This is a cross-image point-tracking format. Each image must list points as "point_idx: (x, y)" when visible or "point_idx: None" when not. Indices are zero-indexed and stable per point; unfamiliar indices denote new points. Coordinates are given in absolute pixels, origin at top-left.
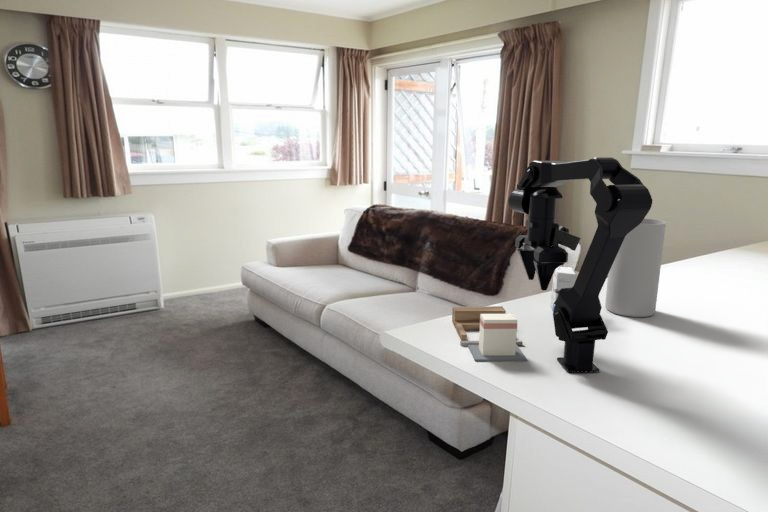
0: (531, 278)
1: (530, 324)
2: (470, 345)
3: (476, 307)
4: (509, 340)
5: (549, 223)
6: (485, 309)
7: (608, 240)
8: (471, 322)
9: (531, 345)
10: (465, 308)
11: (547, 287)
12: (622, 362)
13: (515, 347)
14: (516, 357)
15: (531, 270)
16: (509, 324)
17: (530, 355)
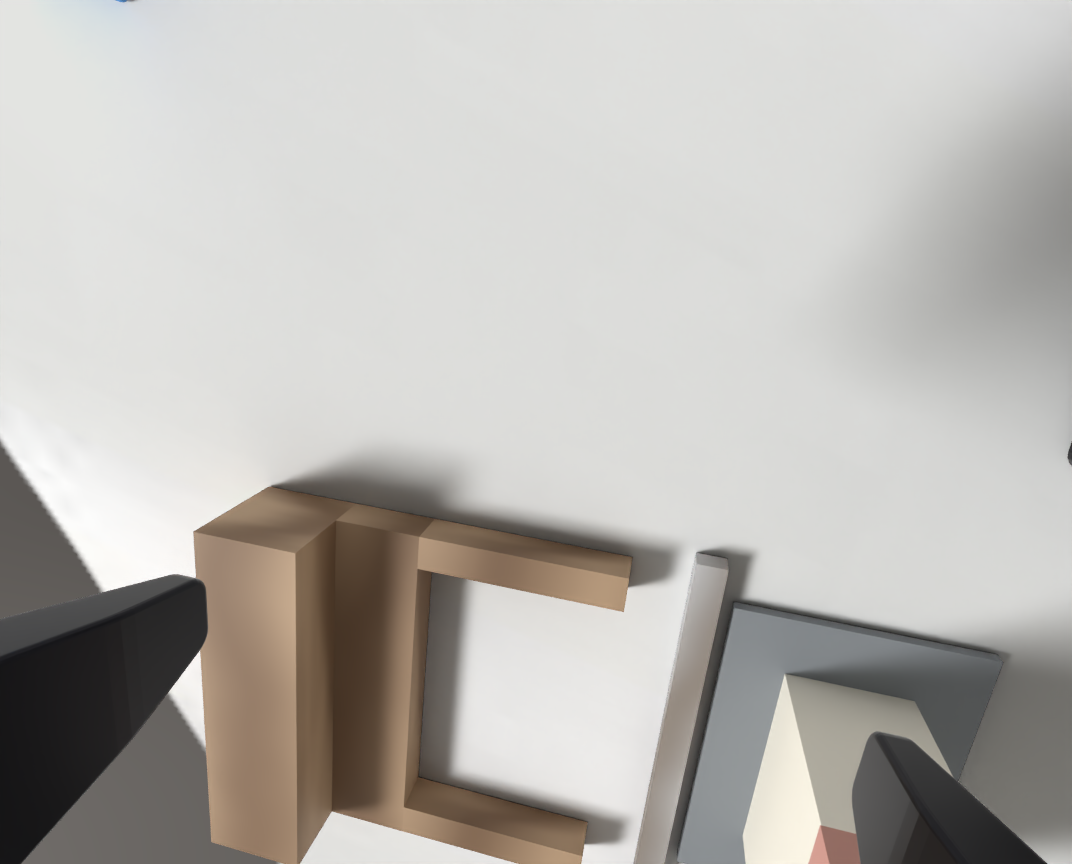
0: (191, 619)
1: (333, 310)
2: (689, 855)
3: (224, 715)
4: None
5: None
6: (268, 679)
7: None
8: (373, 741)
9: (738, 499)
10: (248, 789)
11: (953, 781)
12: None
13: (933, 741)
14: (953, 711)
15: (60, 719)
16: None
17: (912, 590)
